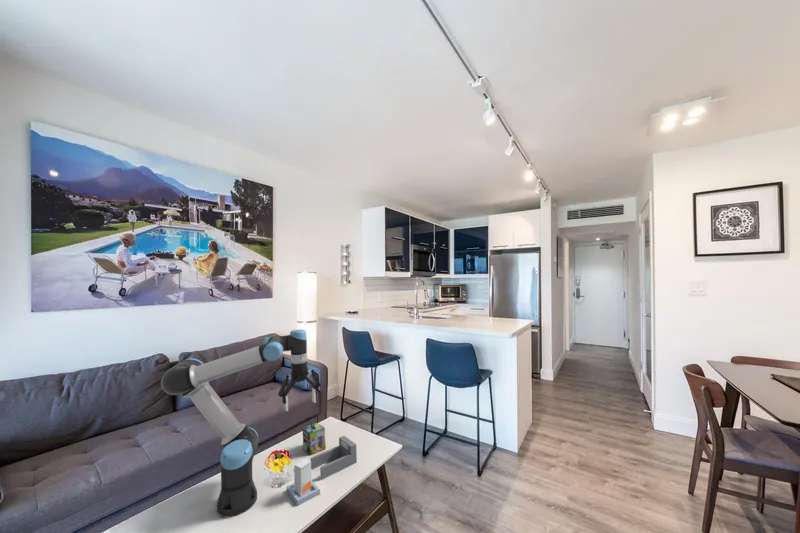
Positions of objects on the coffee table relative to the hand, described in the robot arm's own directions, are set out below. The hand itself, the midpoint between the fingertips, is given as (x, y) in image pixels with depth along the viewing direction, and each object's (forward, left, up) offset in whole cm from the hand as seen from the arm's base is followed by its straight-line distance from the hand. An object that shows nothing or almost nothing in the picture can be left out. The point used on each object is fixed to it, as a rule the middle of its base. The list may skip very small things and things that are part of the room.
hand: (300, 405), depth 151 cm
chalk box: (+13, +14, -32) cm, 37 cm away
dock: (+14, -7, -31) cm, 35 cm away
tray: (-6, -15, -31) cm, 35 cm away
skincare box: (-6, -15, -31) cm, 35 cm away
